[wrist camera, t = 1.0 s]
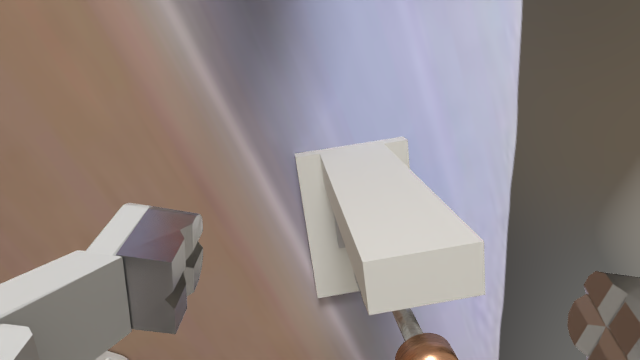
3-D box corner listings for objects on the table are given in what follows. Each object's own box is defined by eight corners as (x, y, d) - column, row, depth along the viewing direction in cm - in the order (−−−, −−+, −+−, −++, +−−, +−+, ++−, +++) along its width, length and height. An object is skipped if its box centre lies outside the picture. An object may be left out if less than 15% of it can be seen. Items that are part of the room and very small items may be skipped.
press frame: (413, 273, 64) (526, 462, 36) (316, 290, 63) (351, 497, 35) (403, 136, 58) (528, 233, 29) (294, 153, 57) (316, 270, 29)
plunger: (412, 289, 48) (480, 413, 32) (357, 298, 48) (398, 428, 32) (408, 238, 46) (478, 343, 31) (350, 248, 46) (391, 359, 30)
